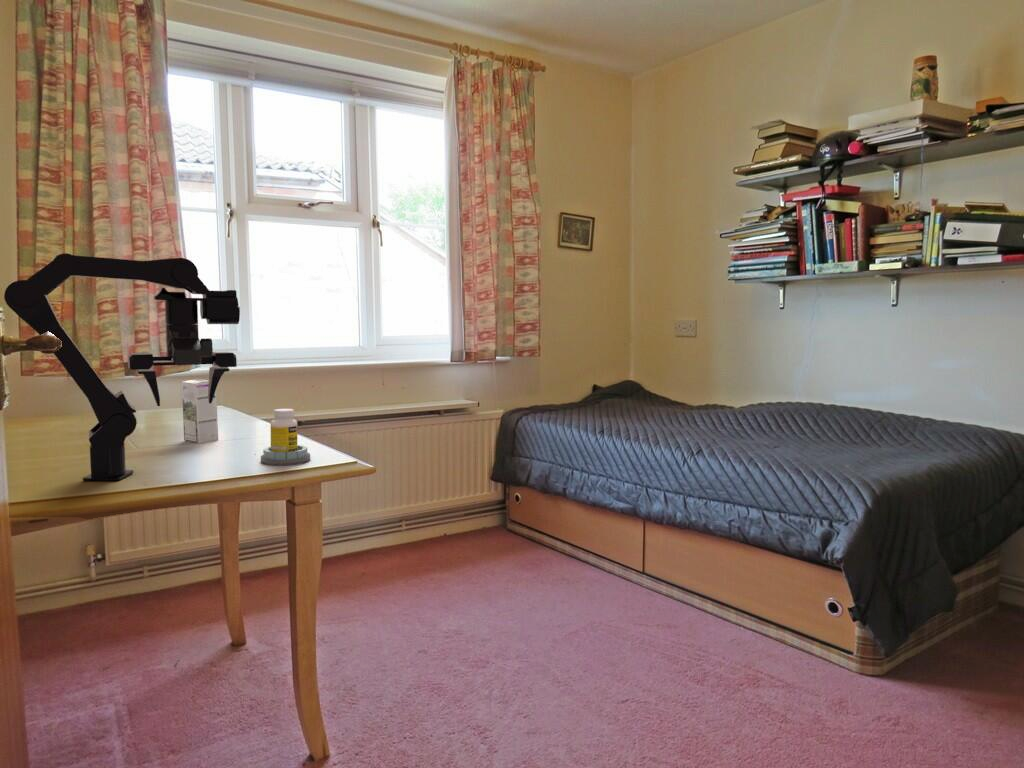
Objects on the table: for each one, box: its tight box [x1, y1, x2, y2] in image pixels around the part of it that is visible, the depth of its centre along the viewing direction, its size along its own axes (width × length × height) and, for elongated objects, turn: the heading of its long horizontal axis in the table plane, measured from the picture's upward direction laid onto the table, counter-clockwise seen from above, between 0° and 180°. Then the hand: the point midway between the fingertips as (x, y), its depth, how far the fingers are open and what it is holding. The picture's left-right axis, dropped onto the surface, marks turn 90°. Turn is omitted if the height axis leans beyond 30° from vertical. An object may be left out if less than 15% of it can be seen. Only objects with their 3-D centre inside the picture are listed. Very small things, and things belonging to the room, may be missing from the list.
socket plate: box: [260, 444, 311, 466], centre depth 151 cm, size 10×10×2 cm
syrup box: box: [181, 379, 219, 444], centre depth 170 cm, size 6×6×14 cm
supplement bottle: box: [270, 408, 298, 452], centre depth 150 cm, size 5×5×10 cm
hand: (184, 404), depth 139 cm, fingers open, 9 cm apart
